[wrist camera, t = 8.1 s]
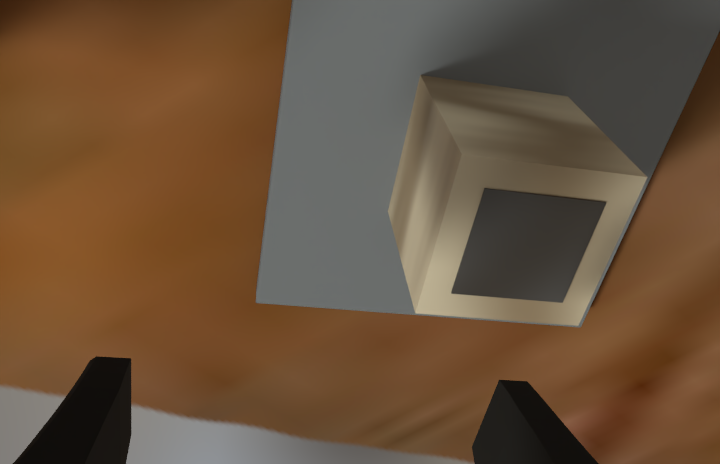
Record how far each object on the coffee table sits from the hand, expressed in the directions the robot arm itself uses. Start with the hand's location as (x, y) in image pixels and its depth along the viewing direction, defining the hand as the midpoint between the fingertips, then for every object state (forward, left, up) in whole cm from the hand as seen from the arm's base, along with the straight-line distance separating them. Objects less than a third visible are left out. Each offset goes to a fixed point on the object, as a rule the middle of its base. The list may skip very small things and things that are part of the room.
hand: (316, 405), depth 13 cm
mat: (+5, +2, -9) cm, 11 cm away
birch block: (+5, +2, -9) cm, 10 cm away
